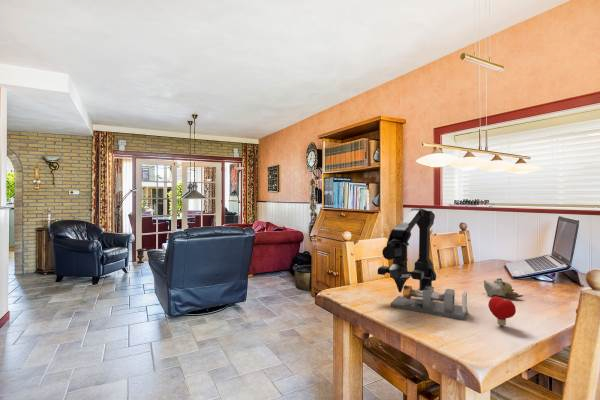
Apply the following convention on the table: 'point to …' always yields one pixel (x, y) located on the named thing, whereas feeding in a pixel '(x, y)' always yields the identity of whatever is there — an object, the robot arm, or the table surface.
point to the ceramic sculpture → (500, 289)
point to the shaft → (420, 294)
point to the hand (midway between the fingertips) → (400, 292)
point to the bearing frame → (434, 304)
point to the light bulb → (501, 309)
